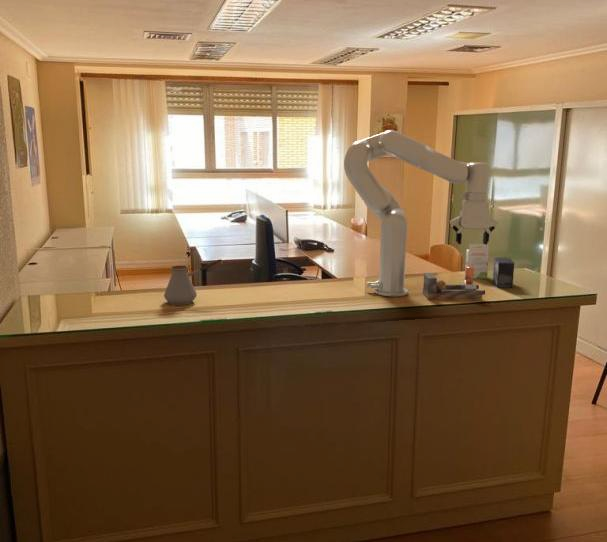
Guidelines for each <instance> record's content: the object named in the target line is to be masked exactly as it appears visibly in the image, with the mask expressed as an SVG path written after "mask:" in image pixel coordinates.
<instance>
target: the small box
mask: <svg viewBox="0 0 607 542" xmlns="http://www.w3.org/2000/svg"><path fill="white" fill-rule="evenodd" d="M493 261H494V263H493V274H492V276H493V277H492V282H493V284H494V285H495V287H496V289H513V288H514V273H515V272H514V271H515V265H516V264H515V262H514V261H513V260H512V259H511V258H510V257H496V256H495V257H494V258H493Z"/></svg>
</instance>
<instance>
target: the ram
mask: <svg viewBox="0 0 607 542" xmlns="http://www.w3.org/2000/svg"><path fill="white" fill-rule="evenodd" d="M465 267H466V266H465ZM473 275H474V267H471V266H467V267H466V270H465V271H464V280H461V281H460V285H461V289H462V290H477V289H476V285H477V284H476V282H474V278H473Z"/></svg>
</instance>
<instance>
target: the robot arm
mask: <svg viewBox="0 0 607 542" xmlns="http://www.w3.org/2000/svg"><path fill="white" fill-rule="evenodd" d="M388 155H389V156H391V157H394V158H396V159H398V160H400V161H403V162H405V163H407V164H409V165H411V166H414V167H416V168H417V169H420V170H423V171H426V172H427V173H429V174H432V175H435V176H436V177H439V178H440V179H443V180H445V181H447V182H449V183H452V184H457V185H458V184H461V183H464V182H465V192H464V193H461V194H460V197H461V198H463V200H462V202H461V207H460V212H459V215H458V216H457V217H455V218H453V219H451V220H449V224H450V226H451V229H453V231H454V232H456V233H455V242H456V243H457V244H458V245H461V244H462V236H463V234H462V232H463V230H464V229H465V230H468V229H469V230H483V231H484V232H483V236H482V238H483V239H482V244H485V245H487V244H488V243H489V241H490V234H491V233H492V232H493V231H494V230H495V229H496V227H497V225H498V221H497V220H495V219H493V218H491V217H490V202H489V201H487V198H488V186H489V177H490V176H489V174H490V164H488V163H487V162H479V161H477V162H475V161H474V162H465V161H459V160H456V159H454V158H452V157H449V156H448V155H445V154H443V153H441V152H439V151H437V150H435V149H433V148H432V147H430V146H429V145H427V144H425V143H423V142H420V141H419V140H416V139H414V138H413V137H412V138H411V137H409V136H407V135H405V134H403V133H401V132H400V131H396V130H394V129H387V130H385V131H383V132H380V133H379V134H375V135H373V136H371V137H370V136H369V137H367V138H363V139H361V140H356V141H353V143H351V144H350V145H349V147H348V149H347V150H346V153H345V156H344V160H343V167H344V168H343V169H344V172H345V175H346V178H347V179H348V181H349V182H350V184H351V185H352V187H353V189H355V191H356V192H357V194H358V195H359V197H360V198H361V200H362V201H363V202H364V204H365V206H366V208H367V209H368V210H369V211H371V212H373V214H375V216H376V217H377V218H378V220H379V221H380V242H379V243H380V246H379V247H380V248H379V252H380V253H379V272H378V273H379V274H378V275H379V277H378V279H377V280H376V281H375V282H372V281H366V287H367V288H370V289H374V293H375V294H376V295H378V296H384V297H391V298H392V297H404V296H406V295H408V294H409V289H407V288H405V275H406V274H405V273H406V254H407V253H406V252H407V250H406V249H407V238H408V237H407V235H408V217H407V214H406V212H405V211H404V210H403V209H404V208H402V207H401V205H400V204H399V202H398V201H397V199H396V198H395V197H394V195H393V194H392V193H391V192H390V190H389V189H388V188H387V187H385V186H384V185H381V184H380V183H381V182H379V180H378V179H377V178H376V176H375V175H374V174H373V172H372V171H371V169H370V168H369V166H368V162H370V161H373V160H376V159H379V158H381V157H385V156H388ZM457 222H458V226H457V225H456V223H457ZM490 223H491V225H490Z"/></svg>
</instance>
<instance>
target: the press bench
mask: <svg viewBox="0 0 607 542" xmlns="http://www.w3.org/2000/svg"><path fill="white" fill-rule="evenodd" d="M437 280H438V278H437V277H436V276H435V275H434V274H433V273H432V272H430V273H429V272H428V273H427V272H426V273H425V272H424V274H423V286H422V287H423V288H422V294H423V295H424V297H425V298H426V300H429V301H435V300H436V301H438V300H439V301H445V300H446V301H453V300H454V301H483V296H484V295H486V290H485V289H479V287H480V286H479V284H476V290H462V289H461V284H448V283H447V284H446V288H445V290H441V292H439V291H437V290H436V284H437Z"/></svg>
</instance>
